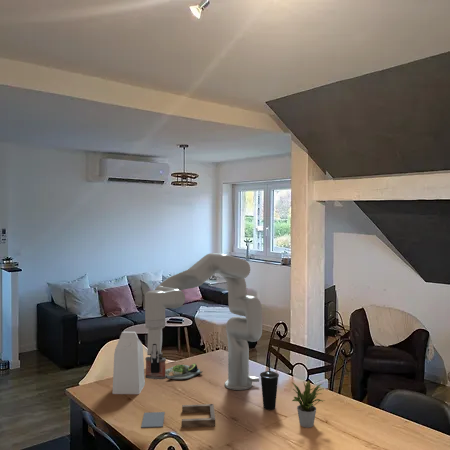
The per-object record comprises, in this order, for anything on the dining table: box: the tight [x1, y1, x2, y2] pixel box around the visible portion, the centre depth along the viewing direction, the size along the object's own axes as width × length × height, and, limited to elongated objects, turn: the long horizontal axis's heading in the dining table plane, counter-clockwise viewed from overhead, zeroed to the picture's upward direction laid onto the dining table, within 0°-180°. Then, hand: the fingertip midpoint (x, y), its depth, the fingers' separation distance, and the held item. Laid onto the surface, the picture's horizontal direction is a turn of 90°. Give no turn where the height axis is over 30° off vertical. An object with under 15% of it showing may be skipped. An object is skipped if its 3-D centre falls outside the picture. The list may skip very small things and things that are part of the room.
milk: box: [111, 331, 146, 395], centre depth 204 cm, size 12×12×26 cm
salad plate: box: [165, 363, 203, 380], centre depth 222 cm, size 19×18×5 cm
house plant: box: [291, 379, 326, 429], centre depth 168 cm, size 14×14×16 cm
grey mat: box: [140, 411, 165, 429], centre depth 173 cm, size 8×12×1 cm, turn 5°
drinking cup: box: [259, 358, 280, 411], centre depth 183 cm, size 8×8×20 cm
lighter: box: [145, 352, 167, 380], centre depth 172 cm, size 8×3×10 cm, turn 77°
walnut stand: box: [181, 403, 216, 428], centre depth 174 cm, size 12×14×2 cm
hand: (155, 369), depth 172 cm, fingers closed on lighter, 4 cm apart
